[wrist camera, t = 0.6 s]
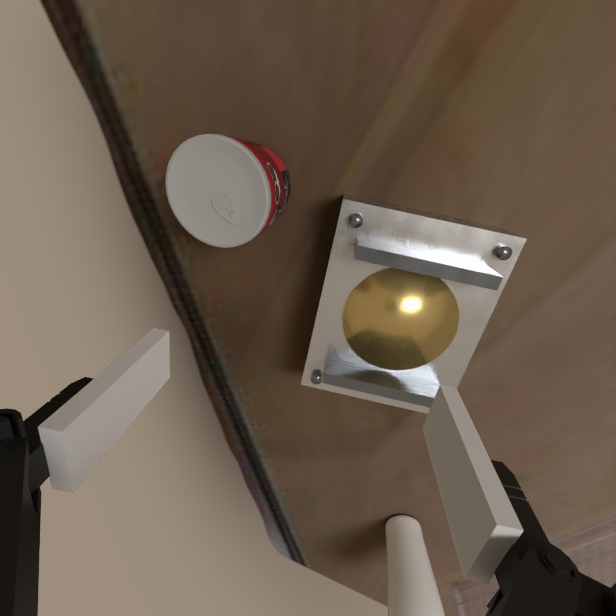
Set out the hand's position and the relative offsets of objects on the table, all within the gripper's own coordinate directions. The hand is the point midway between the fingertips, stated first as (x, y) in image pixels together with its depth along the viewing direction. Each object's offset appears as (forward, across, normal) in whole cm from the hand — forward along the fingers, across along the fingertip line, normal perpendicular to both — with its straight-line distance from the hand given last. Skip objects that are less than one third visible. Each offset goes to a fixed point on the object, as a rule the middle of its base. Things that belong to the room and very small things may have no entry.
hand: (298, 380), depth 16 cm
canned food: (+22, -8, +6) cm, 25 cm away
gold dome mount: (+22, +8, -3) cm, 24 cm away
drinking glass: (+22, +19, -39) cm, 48 cm away
